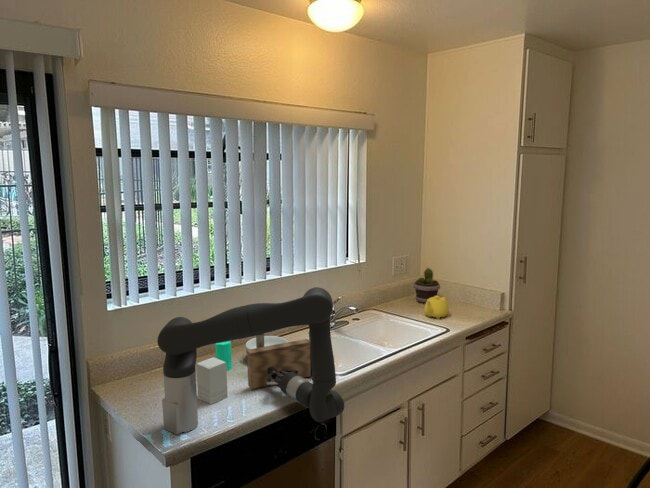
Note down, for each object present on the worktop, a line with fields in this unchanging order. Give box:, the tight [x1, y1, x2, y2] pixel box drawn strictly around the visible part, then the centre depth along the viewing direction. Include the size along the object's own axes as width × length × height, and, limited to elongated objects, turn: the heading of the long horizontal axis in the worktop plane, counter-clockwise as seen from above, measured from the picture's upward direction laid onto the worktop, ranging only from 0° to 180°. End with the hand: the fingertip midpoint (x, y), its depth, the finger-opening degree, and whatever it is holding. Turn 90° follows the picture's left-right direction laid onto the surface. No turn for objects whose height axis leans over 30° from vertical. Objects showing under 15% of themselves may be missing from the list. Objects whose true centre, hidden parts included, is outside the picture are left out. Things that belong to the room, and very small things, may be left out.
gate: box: [245, 338, 311, 390], centre depth 182 cm, size 23×4×13 cm, turn 118°
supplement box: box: [195, 357, 229, 405], centre depth 171 cm, size 7×7×13 cm
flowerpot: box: [412, 265, 441, 305], centre depth 285 cm, size 14×15×20 cm
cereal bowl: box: [245, 335, 288, 351], centre depth 204 cm, size 17×17×7 cm
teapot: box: [423, 295, 450, 320], centre depth 259 cm, size 18×11×11 cm, turn 137°
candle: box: [214, 341, 233, 372], centre depth 195 cm, size 6×6×12 cm
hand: (269, 369), depth 178 cm, fingers closed
